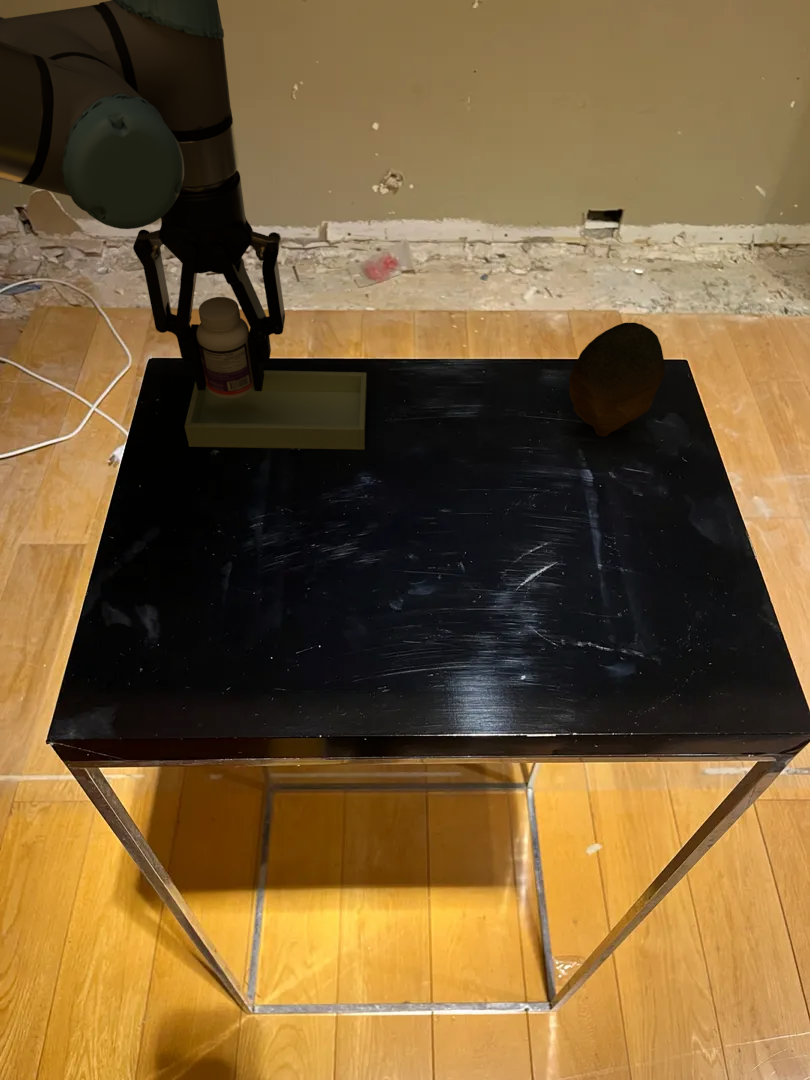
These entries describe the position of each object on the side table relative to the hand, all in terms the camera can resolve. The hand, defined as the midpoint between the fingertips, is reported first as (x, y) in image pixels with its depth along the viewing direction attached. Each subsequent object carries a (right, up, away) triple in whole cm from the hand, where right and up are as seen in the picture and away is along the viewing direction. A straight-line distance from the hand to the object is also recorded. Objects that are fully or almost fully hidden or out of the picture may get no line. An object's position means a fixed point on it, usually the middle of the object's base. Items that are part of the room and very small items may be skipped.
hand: (231, 382), depth 90 cm
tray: (+5, -3, +4) cm, 7 cm away
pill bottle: (0, 0, 0) cm, 1 cm away
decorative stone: (+41, -6, +4) cm, 41 cm away
